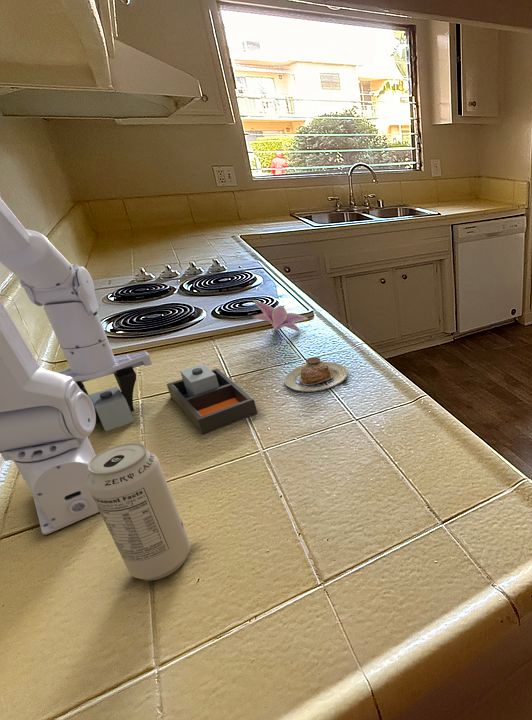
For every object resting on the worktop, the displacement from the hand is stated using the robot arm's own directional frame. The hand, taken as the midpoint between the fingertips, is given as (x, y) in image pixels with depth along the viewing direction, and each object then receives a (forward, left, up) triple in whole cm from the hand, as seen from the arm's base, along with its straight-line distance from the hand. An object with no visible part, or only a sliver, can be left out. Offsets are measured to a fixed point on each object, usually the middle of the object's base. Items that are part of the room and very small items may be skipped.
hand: (114, 414), depth 78 cm
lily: (+15, -36, -2) cm, 39 cm away
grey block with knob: (-3, -13, -1) cm, 13 cm away
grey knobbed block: (0, 0, -1) cm, 1 cm away
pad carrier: (-7, -13, -1) cm, 15 cm away
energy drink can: (-38, +3, -2) cm, 38 cm away
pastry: (-11, -31, -2) cm, 33 cm away
